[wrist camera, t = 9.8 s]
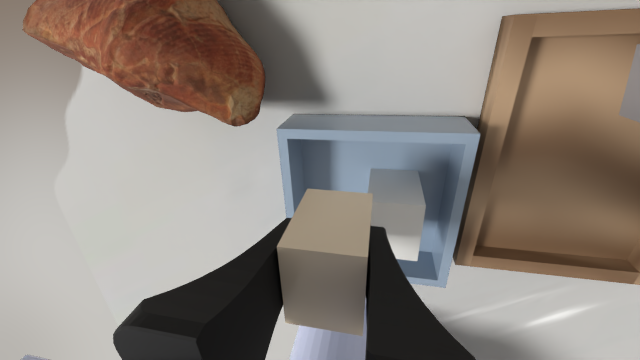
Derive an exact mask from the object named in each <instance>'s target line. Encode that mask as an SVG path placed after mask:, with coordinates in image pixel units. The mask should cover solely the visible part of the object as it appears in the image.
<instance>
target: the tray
mask: <svg viewBox="0 0 640 360" xmlns="http://www.w3.org/2000/svg"><path fill="white" fill-rule="evenodd" d="M637 44H640V9H620V10H600V11H581V12H561V13H541V14H521V15H510V16H502V20H501V24H500V29H499V33H498V38H497V42H496V47H495V51H494V56H493V61H492V65H491V70H490V74H489V79H488V83H487V88H486V92H485V97H484V101H483V106H482V110H481V115H480V119H479V124H478V128H477V130H478V132H479V133H480V139H479V143H478V147H477V152H476V156H475V161H474V165H473V169H472V174H471V178H470V182H469V187H468V191H467V196H466V200H465V204H464V209H463V213H462V218H461V222H460V226H459V231H458V235H457V239H456V244H455V248H454V253H453V258H454V262H455V265H464V266H473V267H482V268H491V269H500V270H509V271H518V272H527V273H537V274H546V275H555V276H564V277H573V278H582V279H591V280H600V281H609V282H619V283H628V284H637V285H640V123H639V122H637V121H634V120H631V119H628V118H625V117H623V116H620V115H619V112H620V108H621V104H622V100H623V97H624V93H625V89H626V85H627V81H628V77H629V73H630V69H631V66H632V62H633V58H634V54H635V50H636V46H637Z"/></svg>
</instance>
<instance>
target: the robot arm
mask: <svg viewBox="0 0 640 360" xmlns="http://www.w3.org/2000/svg"><path fill="white" fill-rule="evenodd" d="M291 219H292V218H286V219H285V220H284V221H282V222H281V223H280V224H279V225H278V226H277V227H275V228H274V229H273V230H272V231H271V232H270V233H268V234H267V235H266V236H265V237H263V238H262V239H261V240H260V241H259V242H257V243H256V244H255V245H253V246H252V247H251V248H249V249H248V250H246V251H245V252H244V253H242V254H241V255H239V256H238V257H236V258H235V259H233V260H232V261H230V262H228V263H227V264H225V265H223V266H222V267H220V268H218V269H216V270H214V271H212V272H210V273H208V274H206V275H204V276H203V277H201V278H198V279H196V280H194V281H192V282H190V283H187V284H185V285H182V286H180V287H178V288H175V289H173V290H170V291H167V292H164V293H161V294H159V295H156V296H153V297H150V298H147V299H144V300H143V301H142V302H141V303H140V304H139V305H138V306H137V307H136V308H135V309H134V310H133V312H132V313H131V314H130V315H129V316H128V317H127V318H126V319H125V320H124V321H123V323H122V324H121V325H120V326H119V327H118V328H117V329H116V331H115V332H114V334H113V340H114V345H115V347H116V350H117V351H118V353H119V355H120V357H121V358H122V360H265V358H266V354H267V351H268V347H269V344H270V341H271V337H272V334H273V331H274V328H275V324H276V322H277V319H278V316H279V314H280V311H281V309H282V306H283V297H282V288H281V279H280V270H279V262H278V253H277V245H278V243H279V241H280V240H281V238H282V236H283V234H284V232H285V230H286V228H287V226H288V224H289V223H290V221H291ZM21 360H49V359H45V358H41V357H36V356H32V355H25V356H24V357H23V358H22V359H21ZM289 360H476V359H475V357H474V356H473V355H471V354H470V353H469V352H468V351H467V350H466V349H465V348H464V347H463V346H462V345H461V344H460V343H459V342H458V341H457V340H456V339H455V338H453V336H452V335H451V334H450V333H449V332H448V331H447V330H446V329H445V328H444V327H443V326H442V325H441V324H440V322H439V321H438V320H437V319H436V318H435V316H434V315H433V314H432V313H431V312H430V310H429V309H428V308H427V307H426V306H425V304H424V303H423V302H422V300H421V299H420V297H419V296H418V295H417V293H416V292H415V290H414V289H413V287H412V286H411V284H410V283H409V281H408V280H407V278H406V276H405V274H404V273H403V271H402V269H401V267H400V265H399V263H398V261H397V259H396V257H395V255H394V253H393V251H392V248H391V246H390V243H389V240H388V237H387V234H386V229H385V228H384V227H378V226H370V237H369V251H368V267H367V283H366V300H365V313H364V326H363V336H359V335H353V334H347V333H341V332H335V331H330V330H324V329H318V328H312V327H306V326H301V325H299V328H298V332H297V335H296V338H295V342H294V345H293V349H292V352H291V355H290V359H289Z"/></svg>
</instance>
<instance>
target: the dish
mask: <svg viewBox="0 0 640 360" xmlns="http://www.w3.org/2000/svg"><path fill="white" fill-rule="evenodd" d="M277 137H278V146H279V155H280V164H281V173H282V182H283V191H284V200H285V209H286V218H292V217H293V215H294V213H295V211H296V209H297V207H298V205H299V204H300V202H301V200H302V198H303V196H304V194H305V192H306V190H307V189H319V190H333V191H346V192H359V193H368V187H369V178H370V169H371V168H372V169H392V170H412V171H418V173H419V178H420V182H421V186H422V191H423V195H424V200H425V204H426V209H425V215H424V222H423V228H422V234H421V241H420V247H419V253H418V260H417V261H410V260H401V259H397V261H398V263H399V265H400V267H401V269H402V271H403V273H404V274H405V276H406V278H407V280H408V281H409V283H411V284H419V285H427V286H435V287H443V288H446V283H447V279H448V275H449V270H450V266H451V261H452V257H453V253H454V248H455V244H456V239H457V235H458V231H459V226H460V222H461V218H462V213H463V209H464V204H465V200H466V196H467V191H468V187H469V182H470V178H471V174H472V169H473V165H474V161H475V156H476V152H477V147H478V143H479V139H480V133H479V132H478V130H477V129H476V128H475V127H474V126H473V125H472V124H471V123H470V122H469V121H468V120H467V119H466V118H465V116H397V115H323V114H293V115H292V116H290V117H289V118H288V119H287V120H286V121H285V122H284V123H283V124H281V125H280V126H279V127H278V128H277Z"/></svg>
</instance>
